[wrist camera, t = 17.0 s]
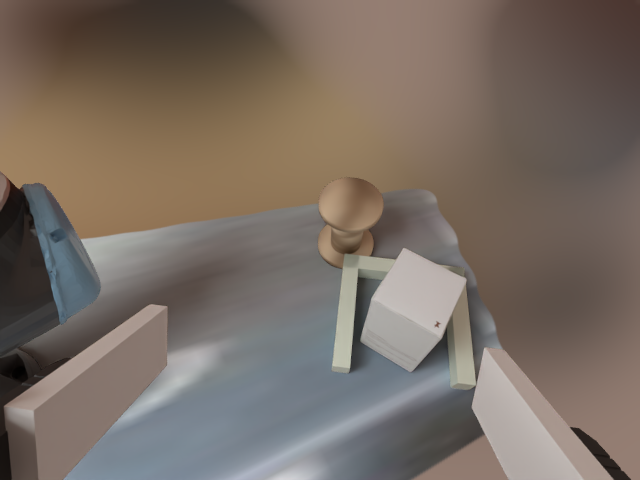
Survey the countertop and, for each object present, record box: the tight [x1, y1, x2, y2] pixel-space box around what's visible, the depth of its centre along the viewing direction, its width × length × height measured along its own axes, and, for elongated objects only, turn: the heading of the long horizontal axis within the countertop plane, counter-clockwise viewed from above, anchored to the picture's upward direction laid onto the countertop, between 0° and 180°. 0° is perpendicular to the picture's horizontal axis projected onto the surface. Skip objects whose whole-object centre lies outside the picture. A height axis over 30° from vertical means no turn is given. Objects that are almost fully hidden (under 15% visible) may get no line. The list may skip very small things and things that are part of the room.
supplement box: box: [360, 248, 467, 372], centre depth 40 cm, size 7×7×13 cm
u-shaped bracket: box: [332, 254, 476, 390], centre depth 46 cm, size 16×15×2 cm
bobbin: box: [318, 178, 384, 269], centre depth 49 cm, size 8×8×10 cm
